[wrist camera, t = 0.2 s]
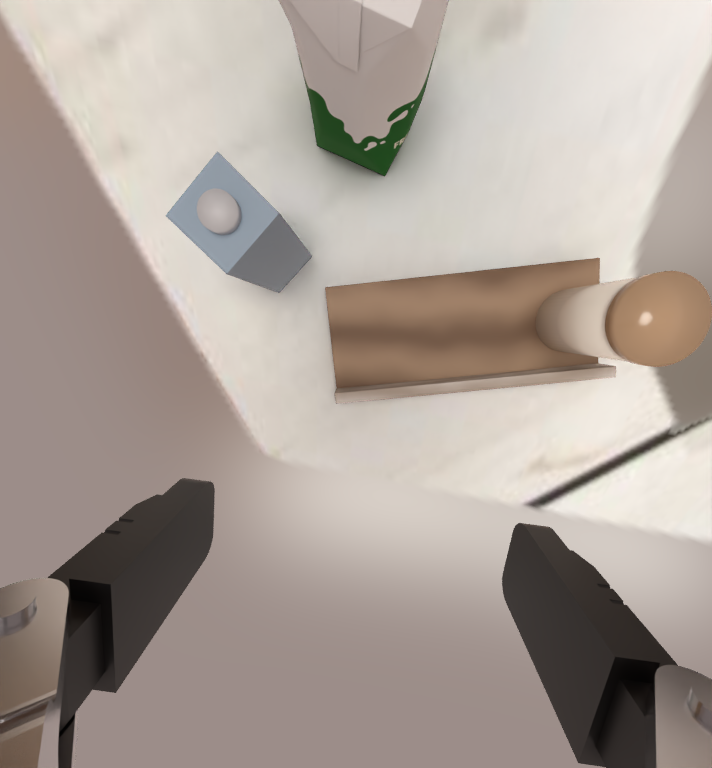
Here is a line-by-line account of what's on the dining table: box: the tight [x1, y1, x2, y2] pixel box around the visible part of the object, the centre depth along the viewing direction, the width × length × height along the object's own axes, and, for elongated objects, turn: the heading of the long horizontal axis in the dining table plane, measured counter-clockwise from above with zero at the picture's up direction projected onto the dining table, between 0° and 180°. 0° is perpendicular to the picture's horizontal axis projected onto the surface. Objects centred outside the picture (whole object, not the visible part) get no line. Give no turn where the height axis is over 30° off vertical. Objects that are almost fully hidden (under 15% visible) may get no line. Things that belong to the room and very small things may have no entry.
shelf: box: [325, 258, 616, 404], centre depth 34 cm, size 11×26×4 cm, turn 96°
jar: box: [536, 271, 712, 367], centre depth 28 cm, size 6×6×11 cm
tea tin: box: [166, 151, 312, 293], centre depth 28 cm, size 5×5×15 cm
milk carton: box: [279, 0, 449, 176], centre depth 23 cm, size 9×9×20 cm
